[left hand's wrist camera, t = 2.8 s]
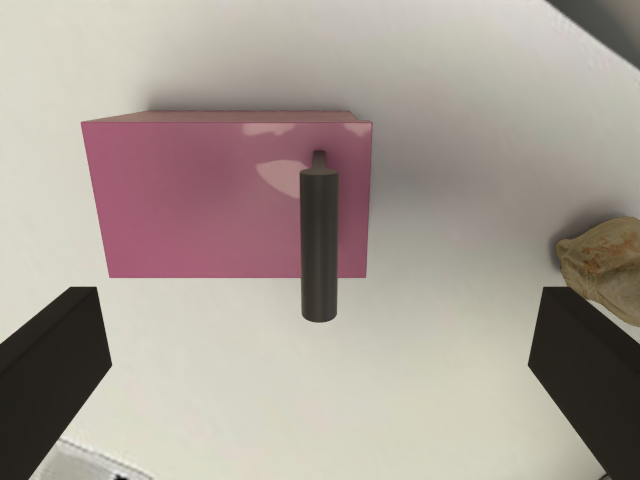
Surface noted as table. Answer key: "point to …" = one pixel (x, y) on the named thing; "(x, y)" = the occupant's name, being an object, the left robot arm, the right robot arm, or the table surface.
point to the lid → (234, 201)
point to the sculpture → (606, 266)
